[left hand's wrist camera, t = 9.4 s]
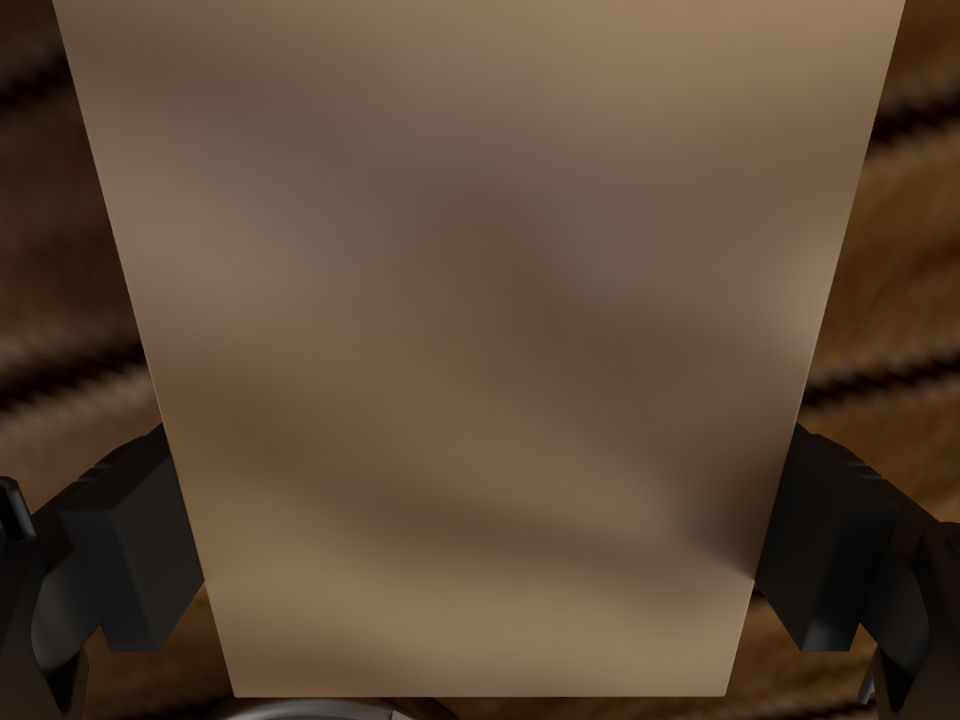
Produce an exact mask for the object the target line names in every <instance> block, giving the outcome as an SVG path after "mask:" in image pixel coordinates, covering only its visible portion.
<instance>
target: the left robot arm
mask: <svg viewBox="0 0 960 720" xmlns="http://www.w3.org/2000/svg"><path fill="white" fill-rule="evenodd" d="M755 582H756V584H757V585H758V587H759V588H760V590H761V591H762V593H763V594H764V596H765V597H766V599H767V600H768V602H769V603H770V605H771V607H772V608H773V610H774V611H775V613H776V614H777V616H778V617H779V619H780V620H781V622H782V623H783V625H784V627H785V628H786V630H787V631H788V633H789V634H790V636H791V637H792V639H793V640H794V642H795V643H796V645H797V646H798V648H799V650H800V651H849V649H850V647H851V644H852V641H853V639H854V636H855V633H856V631H857V628H858V625H859V623H861V624H862V625H863V627H864V628H865V629H866V630H867V631H868V633H869V634H870V635H871V636H872V637H873V639H874V640H875V641H876V642H877V644H878V645H877V647H876V650H875V652H874V655H873V657H872V660H871V662H870V665H869V667H868V670H867V672H866V675H865V677H864V680H863V682H862V685H861V687H860V690H859V695H858V700H857V701H858V702H861V703H863V704H865V705H866V704H867V701H868V699H869V696H870V694H871V693H872V692H874V691H875V697H876V704H877V711H878V718H879V720H960V523H954V522H939V521H938V520H937V519H935V518H934V517H933V516H932V515H930V514H929V513H928V512H927V511H925V510H924V509H923V508H922V507H920V506H919V505H918V504H916V503H915V502H914V501H913V500H911V499H910V498H909V497H908V496H906V495H905V494H904V493H903V492H901V491H900V490H899V489H897V488H896V487H895V486H894V485H892V484H891V483H890V482H889V481H887V480H883V479H882V476H881V475H880V474H878V473H877V472H876V471H875V470H873V469H872V468H871V467H870V466H865V462H863V461H862V460H861V459H859V458H858V457H857V456H856V455H854V454H853V453H852V452H851V451H849V450H848V449H847V448H846V447H844V446H842V445H840V444H838V443H835V442H833V441H831V440H829V439H827V438H825V437H823V436H821V435H819V434H811V433H809V432H808V431H807V430H806V429H805V428H803V427H802V426H801V425H800V424H799V423H797V422H796V424H795V428H794V431H793V435H792V439H791V443H790V447H789V451H788V454H787V458H786V462H785V466H784V470H783V474H782V478H781V481H780V485H779V489H778V493H777V497H776V501H775V505H774V508H773V512H772V516H771V520H770V524H769V528H768V531H767V535H766V539H765V543H764V547H763V551H762V555H761V558H760V562H759V566H758V570H757V574H756V578H755ZM203 583H204V578H203V574H202V570H201V566H200V563H199V559H198V555H197V551H196V547H195V543H194V540H193V536H192V532H191V528H190V524H189V521H188V517H187V513H186V509H185V505H184V502H183V498H182V494H181V490H180V486H179V482H178V479H177V475H176V471H175V467H174V463H173V460H172V456H171V452H170V448H169V444H168V441H167V437H166V433H165V429H164V425H163V422H162V423H161V424H160V425H158V426H157V427H156V428H155V429H153V430H152V431H151V432H150V433H149V434H147V435H146V436H140V437H138V438H136V439H134V440H132V441H130V442H128V443H126V444H124V445H122V446H120V447H118V448H116V449H114V450H113V451H112V452H110V453H109V454H108V455H107V456H105V457H104V458H103V459H102V460H100V461H99V462H98V463H97V464H95V467H94V468H90V469H89V470H88V471H87V472H85V473H84V474H83V475H81V476H80V477H79V478H78V481H77V482H73V483H71V484H70V485H69V486H68V487H66V488H65V489H64V490H63V491H61V492H60V493H59V494H58V495H56V496H55V497H54V498H53V499H51V500H50V501H49V502H48V503H46V504H45V505H44V506H43V507H41V508H40V509H39V510H38V511H36V512H35V513H34V514H32V515H30V512H29V510H28V507H27V505H26V502H25V500H24V497H23V495H22V492H21V490H20V487H19V485H18V482H17V481H16V480H14V479H12V478H10V477H8V476H0V720H82V713H83V706H84V699H85V692H86V685H87V678H88V671H89V664H88V659H87V655H86V652H85V650H84V647H83V645H84V643H85V642H86V641H87V640H88V638H89V637H90V636H91V635H92V634H93V632H94V631H95V630H96V629H97V627H98V626H99V625H101V627H102V630H103V633H104V635H105V638H106V641H107V643H108V646H109V649H110V651H159V650H160V649H161V647H162V646H163V644H164V642H165V641H166V639H167V638H168V636H169V635H170V633H171V632H172V630H173V629H174V627H175V626H176V624H177V623H178V621H179V619H180V618H181V616H182V615H183V613H184V612H185V610H186V609H187V607H188V606H189V604H190V603H191V601H192V599H193V598H194V596H195V595H196V593H197V592H198V590H199V589H200V587H201V586H202V584H203ZM202 720H457V719H456V718H455V717H453V716H452V715H451V714H450V713H448V712H447V711H446V710H444V709H443V708H441V707H440V706H438V705H437V704H435V703H433V702H431V701H429V700H428V699H426V698H424V697H235V696H234V695H232V696H230V697H228V698H227V699H225V700H224V701H222V702H221V703H219V704H218V705H217V706H216V707H214V708H213V709H212V710H211V711H210V712H209V713H208V714H207V715H206V716H205V717H204V718H203V719H202Z"/></svg>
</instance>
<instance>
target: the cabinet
mask: <svg viewBox="0 0 960 720" xmlns="http://www.w3.org/2000/svg"><path fill="white" fill-rule="evenodd" d="M52 2H53V6H54V10H55V13H56V17H57V21H58V25H59V29H60V32H61V36H62V40H63V44H64V48H65V51H66V55H67V59H68V63H69V67H70V71H71V74H72V78H73V82H74V86H75V90H76V93H77V97H78V101H79V105H80V109H81V113H82V116H83V120H84V124H85V128H86V132H87V135H88V139H89V143H90V147H91V151H92V154H93V158H94V162H95V166H96V170H97V174H98V177H99V181H100V185H101V189H102V193H103V196H104V200H105V204H106V208H107V212H108V215H109V219H110V223H111V227H112V231H113V235H114V238H115V242H116V246H117V250H118V254H119V257H120V261H121V265H122V269H123V273H124V277H125V280H126V284H127V288H128V292H129V296H130V299H131V303H132V307H133V311H134V315H135V318H136V322H137V326H138V330H139V334H140V338H141V341H142V345H143V349H144V353H145V357H146V360H147V364H148V368H149V372H150V376H151V379H152V383H153V387H154V391H155V395H156V399H157V402H158V406H159V410H160V414H161V418H162V421H163V425H164V429H165V433H166V437H167V441H168V444H169V448H170V452H171V456H172V460H173V463H174V467H175V471H176V475H177V479H178V482H179V486H180V490H181V494H182V498H183V502H184V505H185V509H186V513H187V517H188V521H189V524H190V528H191V532H192V536H193V540H194V543H195V547H196V551H197V555H198V559H199V563H200V566H201V570H202V574H203V578H204V582H205V585H206V589H207V593H208V597H209V601H210V605H211V608H212V612H213V616H214V620H215V624H216V627H217V631H218V635H219V639H220V643H221V646H222V650H223V654H224V658H225V662H226V666H227V669H228V673H229V677H230V681H231V685H232V688H233V692H234V696H235V697H602V696H724V695H725V693H726V689H727V685H728V682H729V678H730V674H731V670H732V666H733V662H734V658H735V655H736V651H737V647H738V643H739V639H740V635H741V632H742V628H743V624H744V620H745V616H746V612H747V608H748V605H749V601H750V597H751V593H752V589H753V585H754V582H755V578H756V574H757V570H758V566H759V562H760V558H761V555H762V551H763V547H764V543H765V539H766V535H767V531H768V528H769V524H770V520H771V516H772V512H773V508H774V505H775V501H776V497H777V493H778V489H779V485H780V481H781V478H782V474H783V470H784V466H785V462H786V458H787V454H788V451H789V447H790V443H791V439H792V435H793V431H794V428H795V424H796V420H797V416H798V412H799V408H800V404H801V401H802V397H803V393H804V389H805V385H806V381H807V377H808V374H809V370H810V366H811V362H812V358H813V354H814V351H815V347H816V343H817V339H818V335H819V331H820V327H821V324H822V320H823V316H824V312H825V308H826V304H827V300H828V297H829V293H830V289H831V285H832V281H833V277H834V274H835V270H836V266H837V262H838V258H839V254H840V250H841V247H842V243H843V239H844V235H845V231H846V227H847V223H848V220H849V216H850V212H851V208H852V204H853V200H854V197H855V193H856V189H857V185H858V181H859V177H860V173H861V170H862V166H863V162H864V158H865V154H866V150H867V146H868V143H869V139H870V135H871V131H872V127H873V123H874V120H875V116H876V112H877V108H878V104H879V100H880V96H881V93H882V89H883V85H884V81H885V77H886V73H887V70H888V66H889V62H890V58H891V54H892V50H893V46H894V43H895V39H896V35H897V31H898V27H899V23H900V19H901V16H902V12H903V8H904V4H905V0H52Z"/></svg>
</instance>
